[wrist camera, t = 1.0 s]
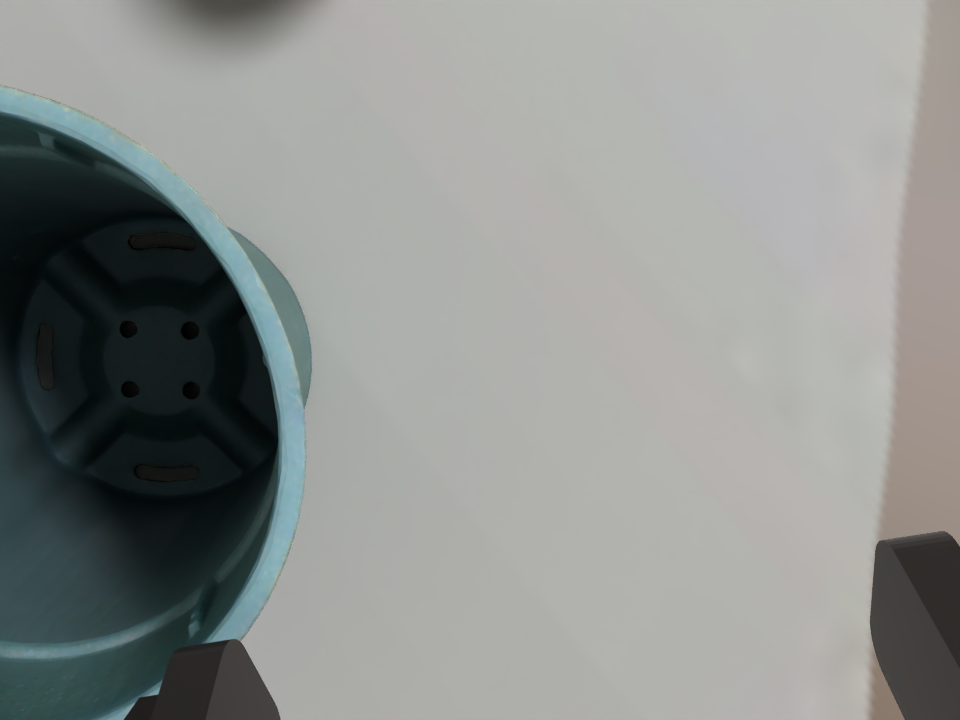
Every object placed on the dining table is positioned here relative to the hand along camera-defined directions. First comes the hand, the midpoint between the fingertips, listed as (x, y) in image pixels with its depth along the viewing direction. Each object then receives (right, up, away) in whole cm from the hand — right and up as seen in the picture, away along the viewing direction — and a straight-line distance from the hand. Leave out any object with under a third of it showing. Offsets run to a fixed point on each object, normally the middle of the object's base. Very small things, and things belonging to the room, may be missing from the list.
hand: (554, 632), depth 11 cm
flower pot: (-14, +4, +25) cm, 29 cm away
